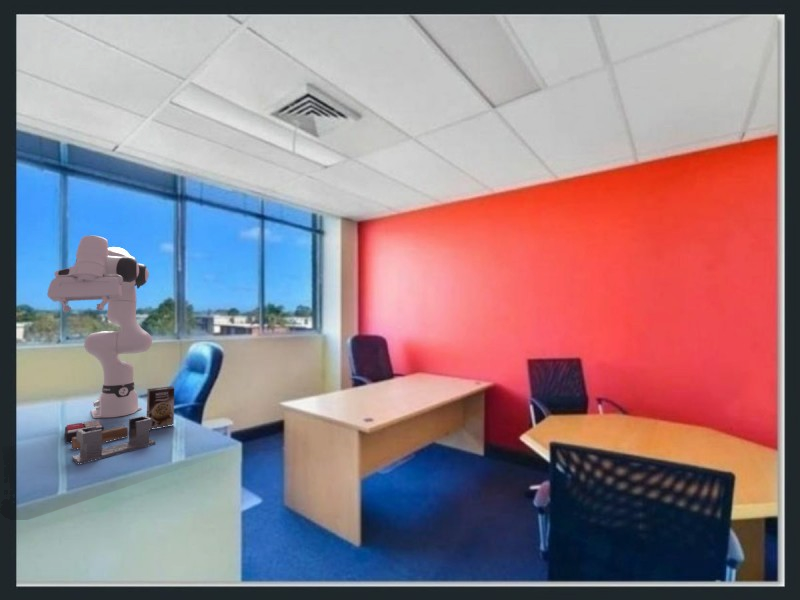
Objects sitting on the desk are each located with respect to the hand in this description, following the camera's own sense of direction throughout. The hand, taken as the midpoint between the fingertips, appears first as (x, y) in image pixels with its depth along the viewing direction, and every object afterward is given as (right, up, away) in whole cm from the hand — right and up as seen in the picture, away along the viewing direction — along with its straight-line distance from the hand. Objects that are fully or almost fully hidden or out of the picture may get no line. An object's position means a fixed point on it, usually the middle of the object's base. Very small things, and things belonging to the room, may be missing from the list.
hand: (83, 310), depth 127 cm
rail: (-4, -50, +12) cm, 51 cm away
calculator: (-17, -50, +21) cm, 57 cm away
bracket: (+9, -49, +3) cm, 50 cm away
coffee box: (+7, -50, +30) cm, 59 cm away
